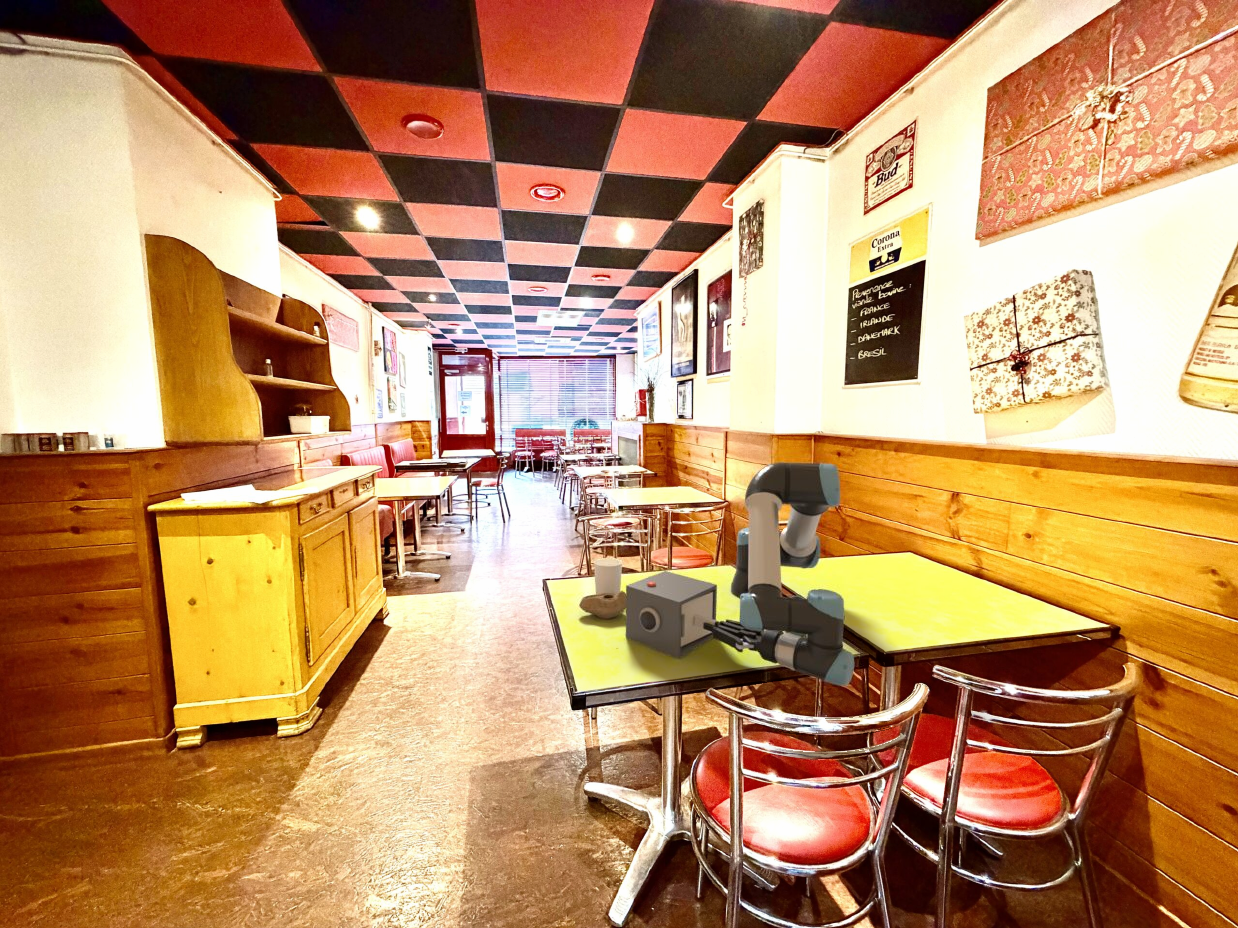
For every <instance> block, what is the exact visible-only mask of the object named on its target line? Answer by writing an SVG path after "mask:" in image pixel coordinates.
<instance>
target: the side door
mask: <svg viewBox="0 0 1238 928" xmlns="http://www.w3.org/2000/svg"><path fill="white" fill-rule="evenodd" d="M712 613H713V591H710V592H708V593H706V594H704V595H702V596H700V597H697V598H695V599H693V600H691V601H689V602H687V603H685V604H683V605H682V613H681V646H684V645H686V644H688V643H690V642H692V641H694V640H696V639H699V638H701V637H703V636H705V635H707V634H709V633H712V632H711V631H708V630H705V629H702V628H699V627H696V626H694V616H696V615H701V616H704V617H707V618H710V619H712Z"/></svg>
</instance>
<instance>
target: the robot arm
mask: <svg viewBox="0 0 1238 928" xmlns="http://www.w3.org/2000/svg"><path fill="white" fill-rule="evenodd" d="M840 503H841V487H840V475H839V469H838V467H837V466H836V465H835V464H834V463H833V464H832V463H824V462H820V463H819V462H784V461H783V462H780V461H779V462H774V463H770V464H768V465H766V466H764V467H763V468H761V469H760V470H759V471H758V472H757V473H756V474H755V475H754V476H753V477H752V478H751V480H750V482H749V484H748V485H747V488H746V491H745V495H744V506H745V508H746V509H747V511H748V527H744V528H742V529H740V530H739V531H738V533H737V541H736V545H737V548H736V570H735V574H734V575H733V579H732V580H731V581H732V582H731V585H730V592H731V593H732V594H733V595H734V596H736V597H739V621H736V620H733V619H725V621H724V620H720V621H719V620H717V619H716V620H714V619H710V618H707V617H704V616H701V615H696V616H694V626H696V627H699V628H702V629H705V630H708V631H711V632H713V638H712V639H715V640H718V641H719V642H721V643H723V644H725V645H727V646H728V647H731V648H733V649H735V650H736V651H737V652H738V653H743V652H744V649H748V650H749V651H753V652H758V654H759V656H760V657H761V658H762V659H763V660H764V661H768V662H771V663H773V664H778V665H779V666H782V667H785V668H787V669H790V670H791V671H796V672H799V673H802V674H805V675H807V676H809V677H813V678H816V679H818V680H821V681H823V682H825V683H829V684H833V685H836V686H840V687H845V686H847V685H849V683H851V680H852V678H853V675H854V669H855V660H854V659H855V656H854V653H852V652H851V651H848V650H847V649H846V648H845V649H844V643H843V641H844V640H843V639H844V638H843V636H844V624H845V623H844V622H845V601H844V598H843V597H842V595H841V594H839V593H838V592H836V591H834V590H829V589H824V588H819V589H811V590H809V591H808V592H807V596H806V598H804V599H800V598H790V597H791V596H790V597H788V596H787V597H785V596H783V594H782V573H781V572H782V570H781V569H782V567H784V568H785V567H787V568H799V569H813V568H815V567H817V565H818V564H819V560H820V556H821V541H820V538H819V536H818V535H817V534H816V531H817V529H818V526H819V522H820V519H821V515H823V514H824V513H826V512H828V510H829V508H834V507H839V506H840ZM783 505H789V506H790V512H789V516H788V521H787V525H786V527H785V528H783V530H782V531H781V532H780V521H779V519H780V518H779V512H780V511H781V509H782V507H783ZM788 632H792V633H801V634H806V635H805V637H804V636H801V637H800V636H797V635H794V634H790V633H788Z"/></svg>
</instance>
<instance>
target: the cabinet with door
mask: <svg viewBox="0 0 1238 928" xmlns="http://www.w3.org/2000/svg"><path fill="white" fill-rule="evenodd" d="M717 590H718V585H717V584H716V583H712V582H709V581H705V580H702V579H697V578H694V577H689V576H685V575H683V574H682V575H681V574H678V573H674V572H671V571H666V570H664V571H661V572H659V573H656V574H654V575H650V576H648V577H646V578H643V579H640V580H637V581H634V582H632V583H629V584H627V585H626V586H625V593H626V609H625V638H626V639H628V640H630V641H633V642H635V643H638V644H640V645H643V646H646V647H648V648H650V649H653V650H656V651H657V652H660V653H662V654H665V655H667V656H669V657H672V658H675V659H676V660H680V659H681V658H683V657H685V656H686V655H688V654H690V653H691V652H692V651H695V650H696V649H698V648H700V647H701V646H702V645H704V644H705V643H707V642H709V641H711V640H712V639H714V638H713V632H712V633H709V634H707V635H705V636H703V637H701V638H699V639H696V640H694V641H692V642H690V643H688V644H686V645H684V646H681V613H682V605H683V604H685V603H687V602H689V601H691V600H693V599H695V598H697V597H700V596H702V595H704V594H706V593H708V592H710V591H713V613H712V619H714V620H717V599H718V596H717V593H718V591H717Z"/></svg>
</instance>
